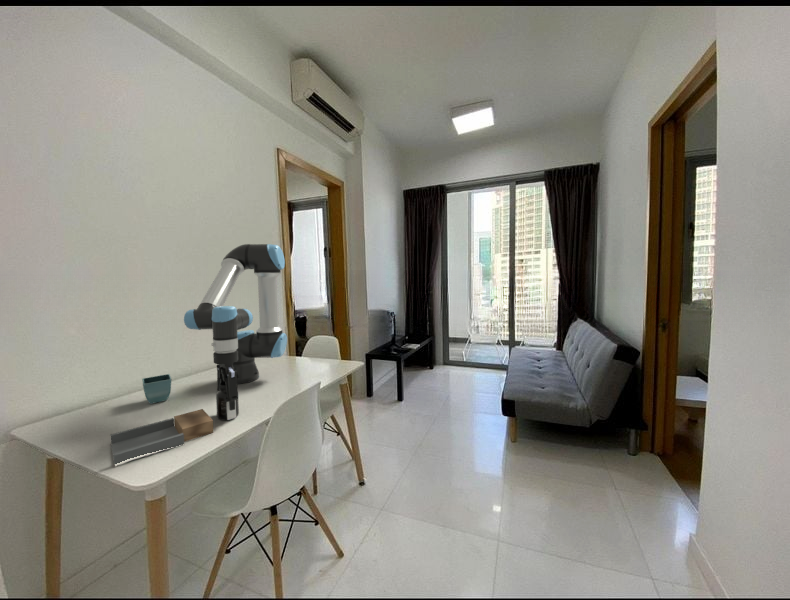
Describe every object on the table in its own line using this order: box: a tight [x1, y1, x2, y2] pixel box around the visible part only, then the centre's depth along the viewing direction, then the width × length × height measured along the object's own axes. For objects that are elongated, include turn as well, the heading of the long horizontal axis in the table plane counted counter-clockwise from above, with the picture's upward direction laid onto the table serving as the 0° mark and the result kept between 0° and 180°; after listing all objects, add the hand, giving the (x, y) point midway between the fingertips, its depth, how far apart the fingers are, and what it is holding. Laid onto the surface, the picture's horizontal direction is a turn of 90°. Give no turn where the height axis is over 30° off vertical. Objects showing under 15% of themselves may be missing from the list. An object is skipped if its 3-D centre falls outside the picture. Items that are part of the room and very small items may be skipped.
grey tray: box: [110, 417, 185, 465], centre depth 88 cm, size 15×15×3 cm
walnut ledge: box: [173, 408, 214, 443], centre depth 97 cm, size 8×12×4 cm, turn 46°
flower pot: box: [141, 373, 172, 405], centre depth 120 cm, size 9×9×9 cm
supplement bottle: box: [215, 382, 240, 421], centre depth 106 cm, size 7×7×12 cm
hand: (228, 414), depth 107 cm, fingers closed on supplement bottle, 7 cm apart
